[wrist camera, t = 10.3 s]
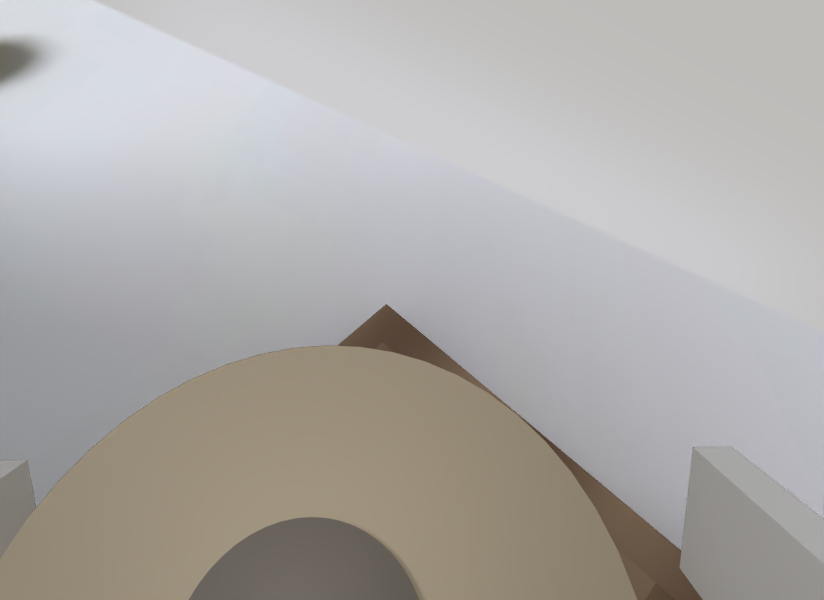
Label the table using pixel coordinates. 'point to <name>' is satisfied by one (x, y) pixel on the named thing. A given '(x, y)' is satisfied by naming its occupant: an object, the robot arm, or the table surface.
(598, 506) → the walnut roll stand
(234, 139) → the table surface
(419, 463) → the kraft paper roll
